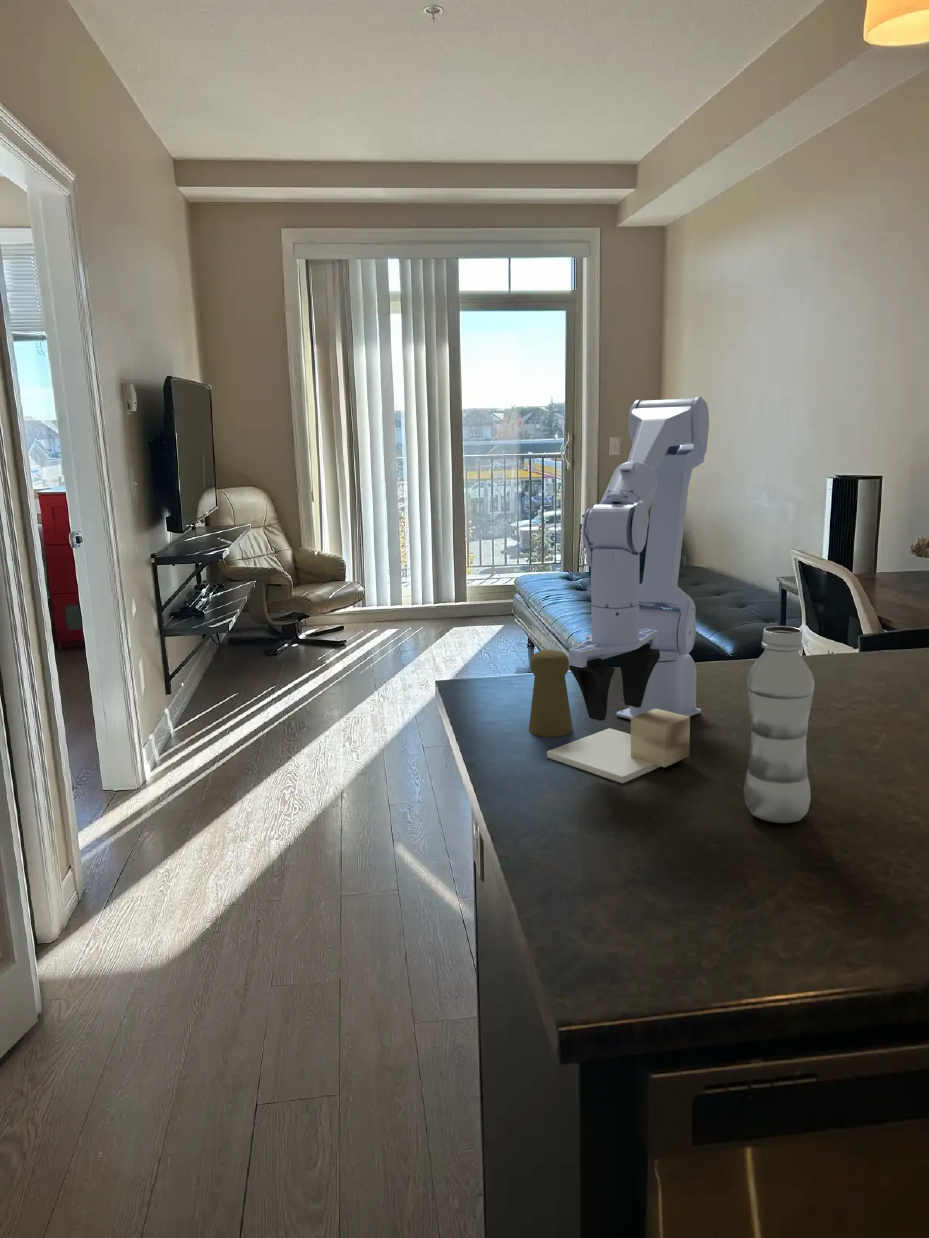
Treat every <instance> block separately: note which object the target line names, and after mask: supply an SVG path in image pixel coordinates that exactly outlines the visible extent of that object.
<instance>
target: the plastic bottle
mask: <svg viewBox="0 0 929 1238" xmlns="http://www.w3.org/2000/svg"><path fill="white" fill-rule="evenodd" d="M802 641H803V630H802V629H801V628H799V627H795V626H786V625H770V626H767V627H764V628H763V633H762V640H761V648H762V649H764V650H763V652H762V654H761V655H760V656H759V657H758V658H757V659H756V660H755V662H754V663H753V665H752V666H751V668H750V669H749V672H748V674H747V677H746V688H747V694H748V695H747V696H748V703H749V712H750V729H751V732H750V736H751V737H750V738H751V739H750V741H751V742H750V751H749V759H748V766H747V767H748V769H747V770H746V775H745V778H744V779H745V780H744V786H743V797H744V802H745V805H746V807H747V809H748V811H750V813H751V815H753V816H754V817H756V818H757V819H760V820H763V821H766V822H769V823H776V824H777V823H778V824H789V823H797V822H799V821H801V820H802V819H803V818H804V817H805V816H806V815H807V813H808V812H809V810H810V804H811V798H812V795H811V786H810V785H811V784H810V781H809V776H808V762H807V738H808V737H807V734H808V727H809V726H808V725H809V717H810V714H811V713H810V711H811V708H812V702H813V698H814V691H815V690H814V689H815V684H816V683H815V679H814V675H813V672H812V671H811V670H810V667H809V666H808V664H807V662H806V661H805V660H804V658H803V657H802V656H801V654H800V651H802V650H803V646H804V644H803V642H802Z"/></svg>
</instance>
